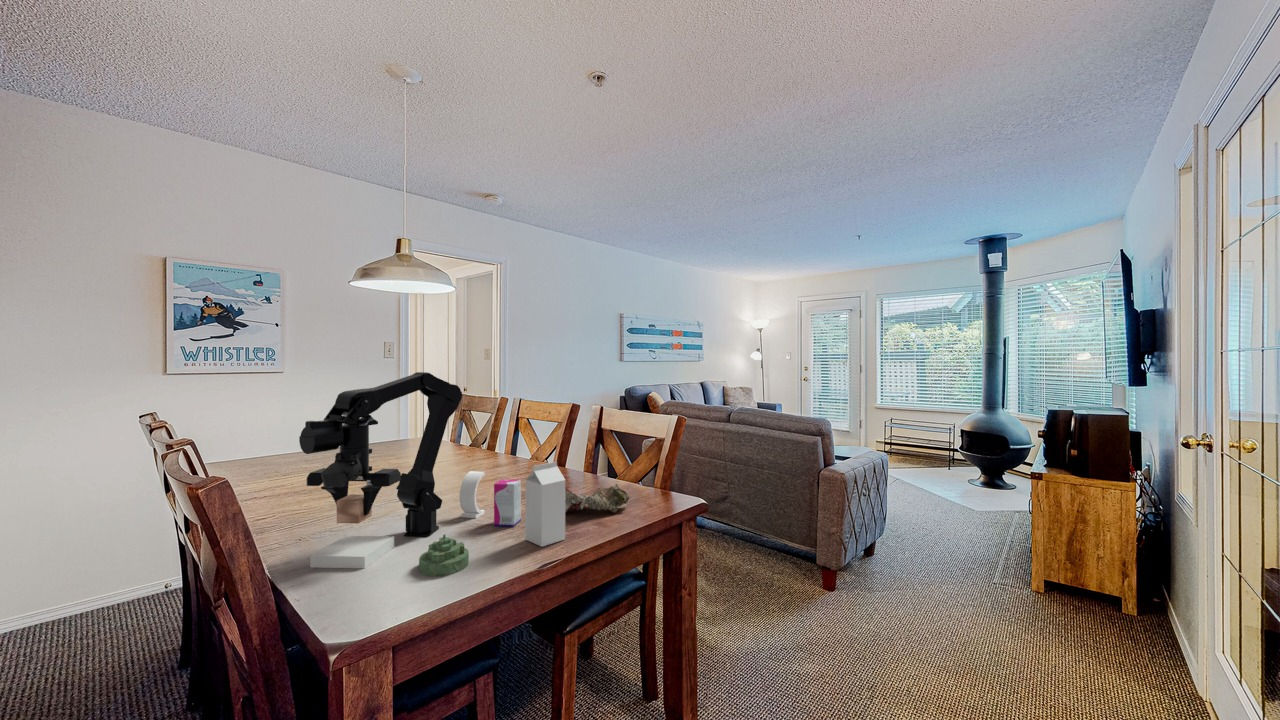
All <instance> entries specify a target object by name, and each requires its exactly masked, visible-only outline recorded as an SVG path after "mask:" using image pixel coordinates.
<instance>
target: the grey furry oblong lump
mask: <svg viewBox="0 0 1280 720" xmlns="http://www.w3.org/2000/svg"><path fill="white" fill-rule="evenodd" d="M630 498H632V495H629V494H628V493H627V491H625V490H623V489H622V488H620V486H619V485H618V484H617V482H616V483H615V484H614V486H610V487H607V488H605V487H604V486H600V487H598V488H597V489H596V490H595V491H594V493H592V494H591V496H589V495H588V494H586V495H584V496H582V495H581V494H576V493H574V492H572V491H571V490H570V489H568V488H565V514H566V513H568V512H569V511H570V510H571V509H575V510H576V511H580V510H583V509H584V506H585V505H587V508H590V509H593V510H598V511H601V510H602V509H603V510H604V511H610V512H612V513H613V514H615V513H616V512H617V511H619V509H620V508H622V507H626V506H628V505H629V504H628V502H629V500H630Z"/></svg>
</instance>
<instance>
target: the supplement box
mask: <svg viewBox="0 0 1280 720" xmlns="http://www.w3.org/2000/svg"><path fill="white" fill-rule="evenodd" d="M521 485H522V480H521V479H501V480H498V481H497V482H495V483H494V484H493V488H494V489H493V526H494V527H506V528H507V527H509V528H510V527H511V528H513V527H515V526H517V524H519V523H520V521H522V486H521Z"/></svg>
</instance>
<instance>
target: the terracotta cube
mask: <svg viewBox="0 0 1280 720" xmlns="http://www.w3.org/2000/svg"><path fill="white" fill-rule="evenodd" d="M363 508H364V494H353V493H352V494H348V496H346V497H344V498H342V499H339V500H337V505H336V524H360V523H363V521H366V520H367V519H369V518H371V517H372V516H373V515H372V513H373V512H372V509H373V506H372V507H371V509H370V512H369V514H368V515H366V516H364V510H363Z"/></svg>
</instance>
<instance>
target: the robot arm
mask: <svg viewBox="0 0 1280 720" xmlns="http://www.w3.org/2000/svg"><path fill="white" fill-rule="evenodd" d="M418 391H419V392H420V393H421V394H422V395H424V396H425V397H427V401H426V404H427V408H428V417H427V421H426V423H425V427H424V430H423V433H422V438H421V440H420V443H419V446H418V449H417V453H416V457H415V458H414V463H413V465H412V468H411V469H410V470H409V471H408V472H407V473H404V472H402V473H401V472H400V471H399V469H398V468H382V469H380V470H377V471H374V472H371V471H373V465H370V454H372V453H373V448H370V437H369V436H370V432H369V431H370V428H369V427H370V426H375V425H378V424H379V421H378V420H376V419H375V418H374V417H373V416H372V415H371V414H372V413H374V412H376V411H377V410H379V409H380V408H381V407H382V406H383V405H384V404H386V403H388V402H392V401H393V400H396V399H400V398H402V397H404V396H407V395H410V394H413V393H415V392H418ZM462 397H463V391H462V390H461V388H460V387H459V386H458V385H457V384H454V383H449V382H448V381H445V380H444V379H441V378H438V377H436V376H435V375H433V374H432V373H430V372H428V371H427V372H425V371H422V372H420V371H417V372H415V373H413V374H410V375H407V376H405V377H402V378H399V379H395V380H392V381H389V382H387V383H384V384H380V385H378V386H375V387H368V388H358V389H352V390H351V389H350V390H344V391H342V392H340V393H338V395H337V397H336V398H335V402H334V405H333V406H332V407H331V408H330V410H329V412H328V413H327V414H326V416H325V417H324V418H323V420H307V421H305V426H304V427H303V429H302V430H301V432H300V435H299V438H298V439H299V447H300V449H301V450H302V452H303V453H304V454H305V455H310V454H316V453H321V452H329V451H335V450H337V449H339V452H336V453H335V456H334V462H333V463H331V464H330V465H328V466H327V467H326V468H325V467H322V468H320V469H316V470H314V471H310V472H309V473H308V474H307V476H306V486H307V487H320V486H321V485H322V486H321V487H320V489H321V490H325V491H326V492H328V493H329V494H330V495H331V497H332V498H333V500H334V503H335V505H336V506H337V500H339V499H342V498H344V497H346V496H348V495H349V486H350V484H349V483H350V482H366V485H365V486H362V487H361V488H360V490H361V491H362V493H363V495H364V508H363V510H364V516H366V515H368V514H369V512H370V509H371V507H372V508H373V505H374V502H375V501H376V498H377V496H378V494H379V492H380V491H381V489H382V488H385V487H390V486H392V485H394V484H396V483H398V482H399V483H398V485H397V486H396V488H395V490H397V493H396V496H397V498H398V500H399V501H400V503H401V504H402V507H403V509H407V512H406V513H407V514H406V515H405V533H403V536H405V537H430V536H431V535H432V534H434V533H435V532H436V531H437V530H438V529H440V526H439V525H437V511H438V510H440V509H441V507H442V504H443V499H442V498H440V497H439V496H438V494H436V493H435V492H434V491H435V486H436V485H435V484H436V482H435V477H434V474H433V473H434V472H433V471H434V468H435V465H436V461H437V457H438V454H439V451H440V448H441V444H442V441H443V437H444V434H445V431H446V428H447V424H448V421H449V418H450V417H451V416H452V415H453V414H454V413H455V412H456V411H457V409H458V408H459V405H460V404H461V402H462V399H463V398H462Z"/></svg>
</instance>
